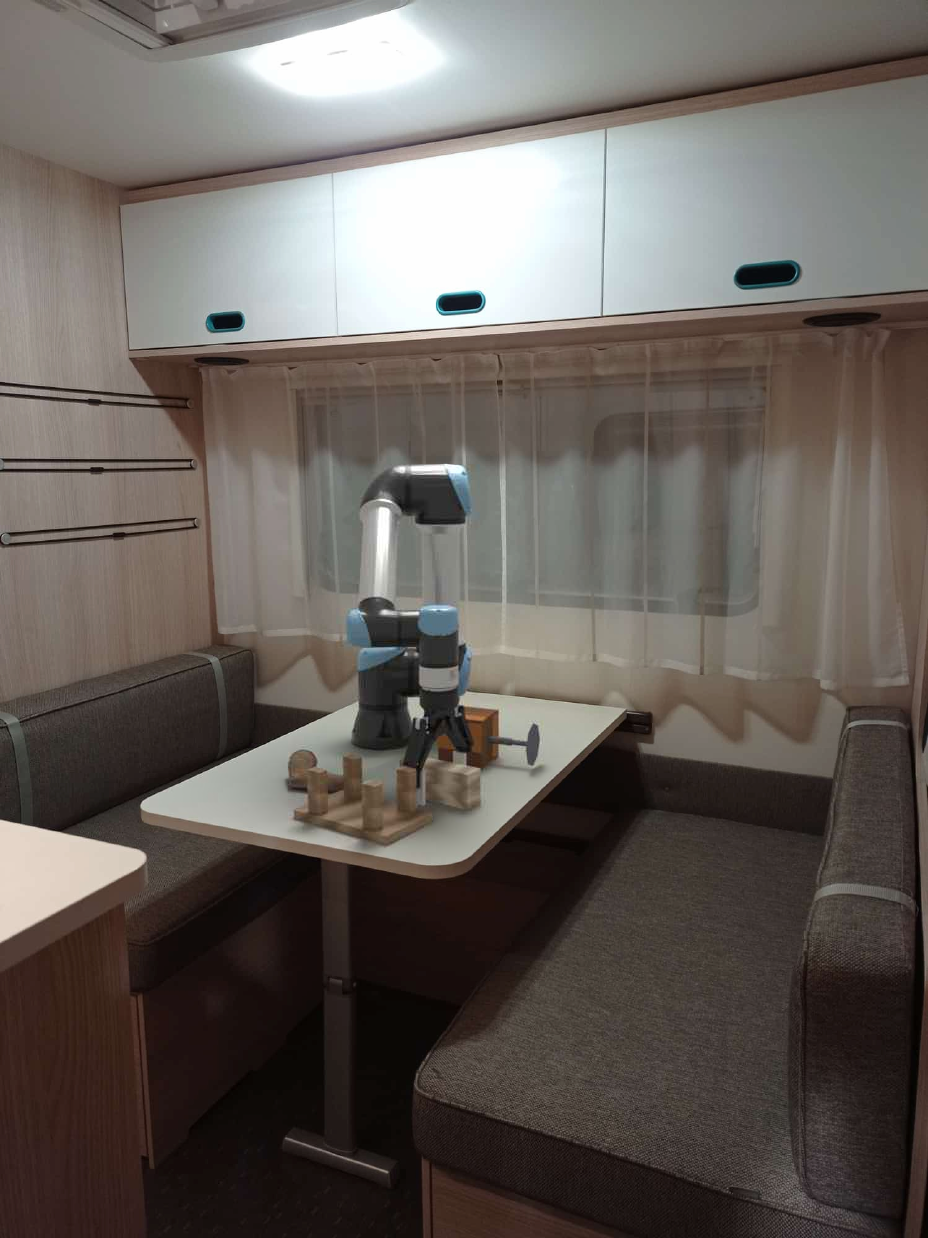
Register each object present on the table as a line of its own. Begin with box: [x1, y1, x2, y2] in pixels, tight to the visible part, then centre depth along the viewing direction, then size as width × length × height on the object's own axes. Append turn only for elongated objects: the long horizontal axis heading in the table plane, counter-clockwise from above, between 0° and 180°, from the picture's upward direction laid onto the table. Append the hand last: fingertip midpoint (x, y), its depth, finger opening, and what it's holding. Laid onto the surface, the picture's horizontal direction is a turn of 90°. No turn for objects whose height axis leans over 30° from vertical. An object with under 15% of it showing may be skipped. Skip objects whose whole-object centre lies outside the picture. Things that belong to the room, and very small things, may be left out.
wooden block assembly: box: [293, 753, 433, 846], centre depth 162 cm, size 22×13×10 cm, turn 55°
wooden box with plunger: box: [437, 696, 541, 771], centre depth 195 cm, size 11×20×14 cm, turn 67°
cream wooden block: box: [399, 757, 482, 811], centre depth 174 cm, size 16×4×7 cm, turn 56°
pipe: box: [287, 749, 344, 794], centre depth 182 cm, size 6×17×10 cm
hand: (439, 793), depth 174 cm, fingers open, 13 cm apart
